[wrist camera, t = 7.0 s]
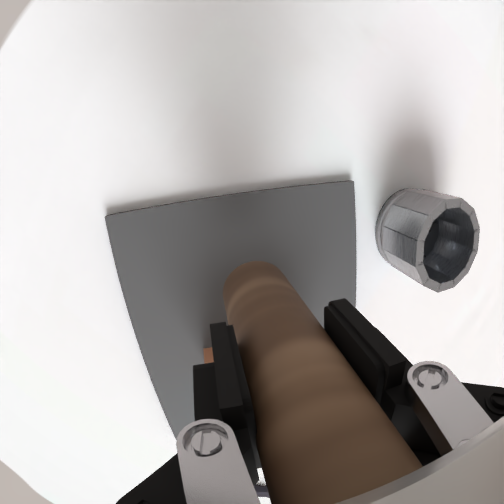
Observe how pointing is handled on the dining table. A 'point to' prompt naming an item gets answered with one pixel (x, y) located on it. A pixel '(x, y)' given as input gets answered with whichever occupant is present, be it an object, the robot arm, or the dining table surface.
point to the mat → (224, 269)
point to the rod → (307, 398)
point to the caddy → (428, 236)
